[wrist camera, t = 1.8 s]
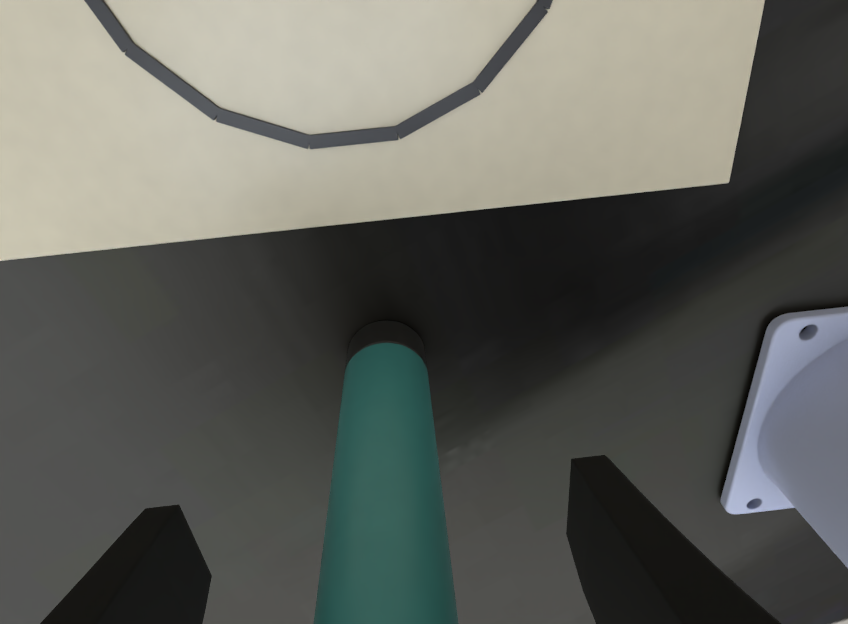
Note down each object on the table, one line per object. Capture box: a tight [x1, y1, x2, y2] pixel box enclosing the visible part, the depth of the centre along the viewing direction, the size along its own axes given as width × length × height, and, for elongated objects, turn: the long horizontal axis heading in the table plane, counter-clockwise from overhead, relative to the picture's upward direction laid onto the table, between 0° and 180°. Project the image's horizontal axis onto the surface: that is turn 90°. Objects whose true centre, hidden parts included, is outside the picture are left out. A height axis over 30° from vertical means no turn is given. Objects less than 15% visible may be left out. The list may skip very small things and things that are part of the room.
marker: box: [314, 320, 458, 624], centre depth 10 cm, size 2×2×10 cm
